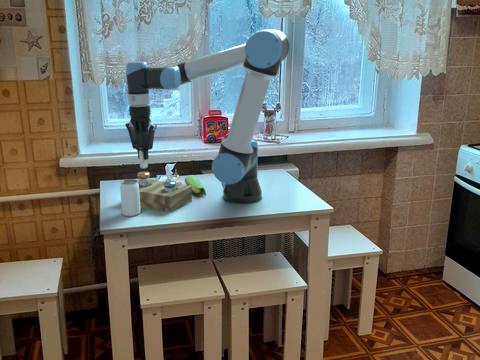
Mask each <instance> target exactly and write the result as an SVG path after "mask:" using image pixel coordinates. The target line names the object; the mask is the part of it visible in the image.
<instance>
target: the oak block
mask: <svg viewBox="0 0 480 360" xmlns="http://www.w3.org/2000/svg"><path fill="white" fill-rule="evenodd" d="M164 182H165V181H161V180H155V179H150V178H149V185H150V186H148V187H146V188H144V187H139V195H140V208H141V207H142V208H146V209H152V210H156V211H161V212H166V213H172V212H173V213H174V212H175V211H176V210H178V209H180V208H182V207H184V206H186V205H188V204H190V203H191V202H193V191H192V186H188V185H187V184H181V183H176V186H175V189H176V190H175V191H173V192H168V191H165V187H164ZM137 183H138V184H139V180H137Z"/></svg>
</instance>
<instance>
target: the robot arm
mask: <svg viewBox="0 0 480 360" xmlns="http://www.w3.org/2000/svg"><path fill="white" fill-rule="evenodd" d="M289 51H290V42H289V39H288V37H287V36H286V34H284V32H283V31H280V30H277V29H268V28H263V29H258V30H257V31H256V32H253V33H252V34H251V35H250V36H249V37H248V38H247V41H246V42H245V43H244V44H241V45H238V46H233V47H230V48H227V49H225V50H221V51H218V52H214V53H210V54H207V55H205V56H200V57H197V58H195V59H191V60H188V61H184V62H181V63H177V64H173V65H169V66H163V67H149V66H148V64H147V62H146V61H130V62H129V61H128V62H127V63H126V66H125V68H126V69H125V70H126V71H125V72H126V73H125V74H126V76H125V77H126V83H127V84H126V85H127V86H126V87H127V96H128V105H129V107H128V112H129V116H130V121H129V122H126V123H125V128H127V132H128V135H129V139H130V143H131V146H132V149H133V150H136V151H137V158H138V160H139V168H140V169H147V168H148V167H149V164H148V160H149V158H150V156H149V151H150V150H152V149H153V148H154V147H153V146H154V141H155V131H156V129H157V127H158V125H157V124H154V123H152V120H151V118H150V117H151V106H150V103H151V102H150V91H149V90H166V91H167V90H169V91H170V90H177V89H178V88H179V87H180V86H182V85H185V84H188V83H192V82H195V81H198V80H203V79H206V78H209V77H212V76H216V75H219V74H220V75H221V74H223V73H227V72H230V71H234V70H237V69H241V68H243V69H244V70H245V75H244V78H243V82H242V85H241V88H240V92H239V96H238V99H237V102H236V106H235V110H234V113H233V118H232V119H231V124H230V128H229V130H228V133H227V134H228V135H227V137H226V138H225V139H223V140H222V141H221V143H220V146H219V150H218V152H217V155H216V156H215V157H214V158H213V161H212V163H211V170H212V174H213V175H214V178H216V179H217V180H218V181H219V182H220V183H221V184H225V186H224V188H223V191H222V193H223V194H222V198H223V199H224V200H225V201H228V202H230V203H235V204H236V203H237V204H249V203H254V202H257V201H260V200H261V199H262V197H263V194H262V193H263V192H262V191H263V190H262V188H261V185H260V181H259V178H258V168H259V167H258V160H259V158H258V157H259V156H258V151H259V146H258V142H257V140H256V139H253V138H254V135H255V133H256V129H257V125H258V122H259V118H260V115H261V112H262V109H263V106H264V102H265V99H266V96H267V93H268V89H269V86H270V83H271V80H272V79H274V78H276V77H277V75H278V73H279V70H280V65H281V62H282V61H284V60H285V59H286V58H287V57H288V55H289Z"/></svg>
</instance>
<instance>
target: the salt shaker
mask: <svg viewBox="0 0 480 360" xmlns="http://www.w3.org/2000/svg"><path fill="white" fill-rule="evenodd" d="M163 182H164V187H165V191H168V192H173V191H175V190H176V189H175V186H176V184H177V181H176V180H165V181H163Z"/></svg>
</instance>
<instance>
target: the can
mask: <svg viewBox="0 0 480 360" xmlns="http://www.w3.org/2000/svg"><path fill="white" fill-rule="evenodd" d="M137 182H138V180H137V179H132V178H129V179H124V180H123V179H122V180H121V181H120V186H119V190H120V191H119V192H120V203H121V213H122V215H123V216H124V217H136V216H139V215H140V214H141V207H140V195H139V184H138V183H137Z"/></svg>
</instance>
